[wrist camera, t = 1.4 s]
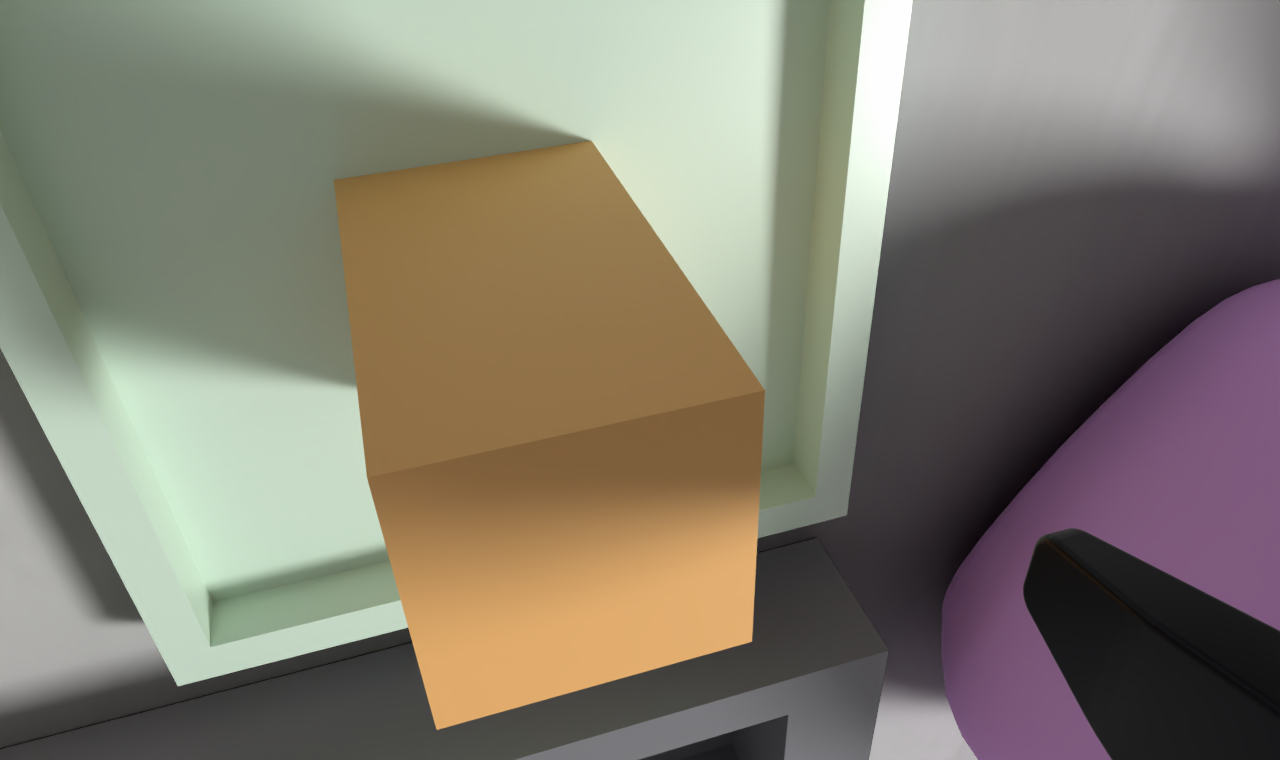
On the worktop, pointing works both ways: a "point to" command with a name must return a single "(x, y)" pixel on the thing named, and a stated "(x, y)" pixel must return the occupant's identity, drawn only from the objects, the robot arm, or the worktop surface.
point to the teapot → (1129, 522)
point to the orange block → (546, 429)
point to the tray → (313, 266)
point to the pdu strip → (555, 700)
